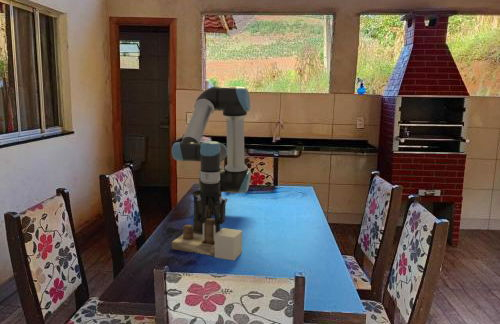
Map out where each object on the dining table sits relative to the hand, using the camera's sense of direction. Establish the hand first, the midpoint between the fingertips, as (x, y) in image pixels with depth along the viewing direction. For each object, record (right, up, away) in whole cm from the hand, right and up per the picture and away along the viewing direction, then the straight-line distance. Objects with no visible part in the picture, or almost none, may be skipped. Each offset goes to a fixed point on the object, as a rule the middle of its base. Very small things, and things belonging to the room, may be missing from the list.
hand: (210, 239), depth 155 cm
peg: (0, -4, +1) cm, 4 cm away
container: (-6, -1, +21) cm, 21 cm away
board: (-5, -4, +3) cm, 6 cm away
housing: (+7, -5, -5) cm, 10 cm away
